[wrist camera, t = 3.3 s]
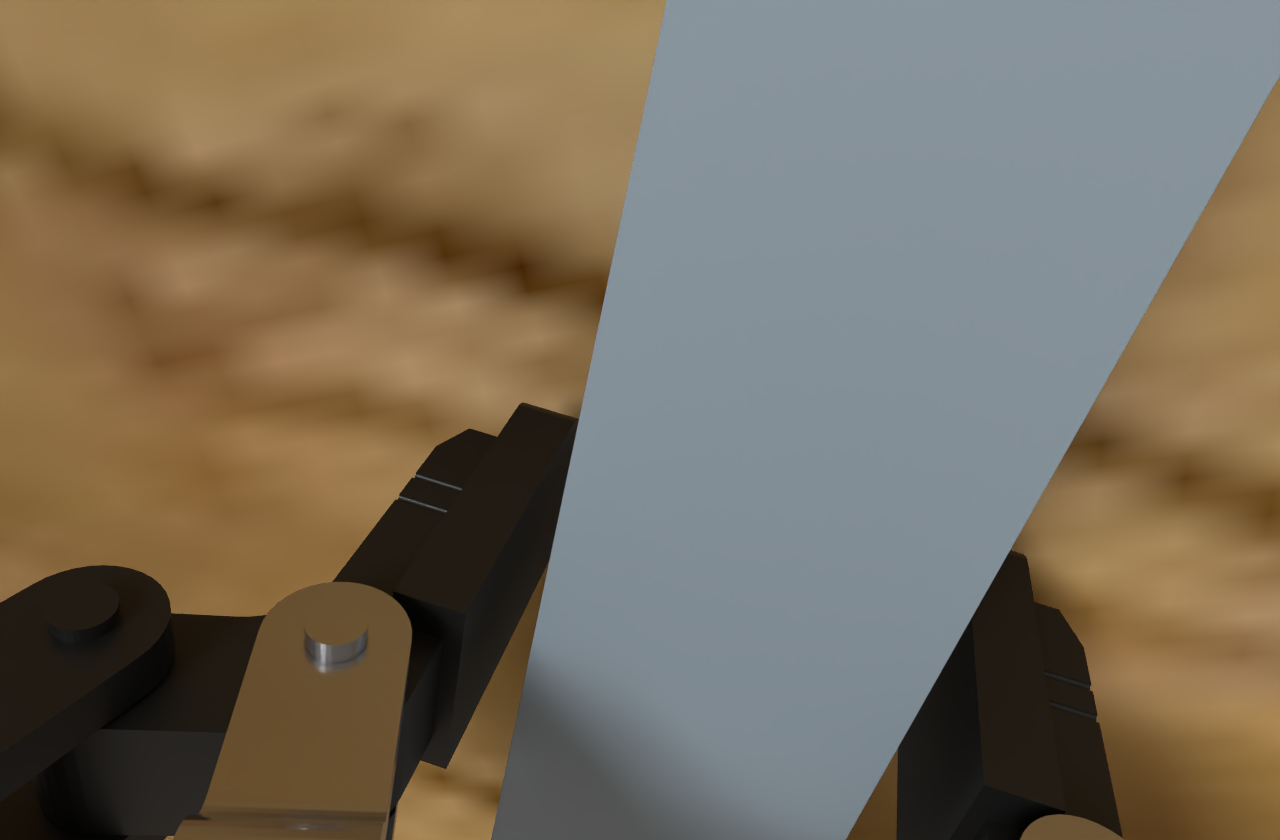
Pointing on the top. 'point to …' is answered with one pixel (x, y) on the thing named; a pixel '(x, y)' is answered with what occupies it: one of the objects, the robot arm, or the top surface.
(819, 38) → the rail
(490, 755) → the top surface
